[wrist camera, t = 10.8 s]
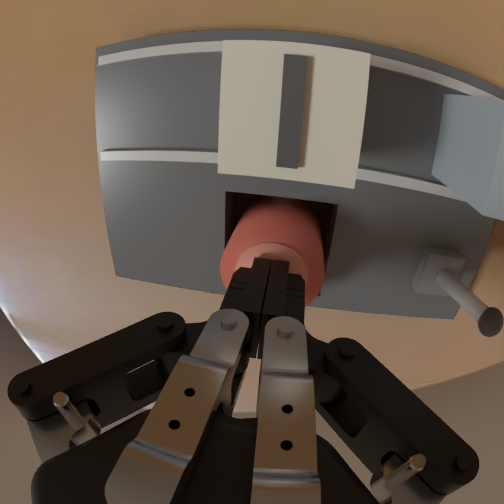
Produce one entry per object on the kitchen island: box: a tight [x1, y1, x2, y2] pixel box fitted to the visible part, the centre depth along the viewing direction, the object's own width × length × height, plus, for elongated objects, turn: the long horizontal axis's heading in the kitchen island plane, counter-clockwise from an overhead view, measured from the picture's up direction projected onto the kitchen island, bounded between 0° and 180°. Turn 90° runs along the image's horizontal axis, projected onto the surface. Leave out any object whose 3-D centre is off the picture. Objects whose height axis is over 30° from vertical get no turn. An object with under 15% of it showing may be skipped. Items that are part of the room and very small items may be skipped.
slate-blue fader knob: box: [431, 94, 504, 221], centre depth 9 cm, size 4×4×5 cm
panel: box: [95, 29, 504, 337], centre depth 12 cm, size 22×14×7 cm, turn 87°
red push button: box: [220, 196, 325, 306], centre depth 15 cm, size 5×5×4 cm
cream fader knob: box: [218, 40, 370, 189], centre depth 10 cm, size 4×4×5 cm
